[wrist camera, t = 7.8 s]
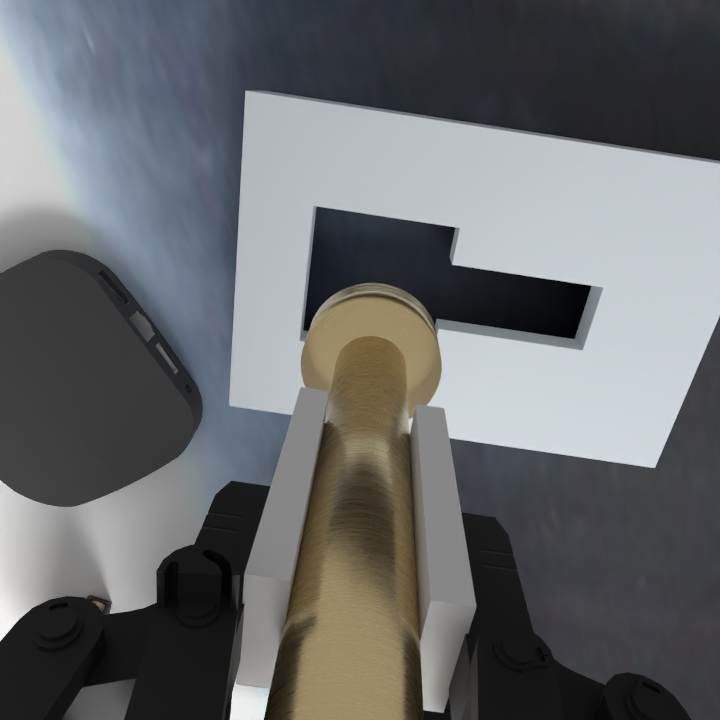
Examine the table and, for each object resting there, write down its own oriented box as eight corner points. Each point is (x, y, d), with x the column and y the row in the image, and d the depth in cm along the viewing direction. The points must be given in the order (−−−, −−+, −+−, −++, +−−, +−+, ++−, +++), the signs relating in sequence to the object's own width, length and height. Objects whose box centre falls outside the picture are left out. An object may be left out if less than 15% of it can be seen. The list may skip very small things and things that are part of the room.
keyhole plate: (247, 370, 37) (228, 405, 32) (265, 90, 30) (245, 90, 26) (625, 426, 37) (654, 467, 33) (727, 162, 30) (780, 173, 26)
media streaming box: (-92, 334, 37) (-130, 353, 34) (84, 223, 34) (57, 235, 31) (60, 501, 42) (38, 530, 39) (228, 420, 39) (215, 445, 36)
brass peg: (360, 422, 23) (284, 1215, 7) (281, 331, 22) (-49, 1069, 5) (462, 358, 22) (671, 1160, 6) (387, 256, 20) (367, 944, 4)
